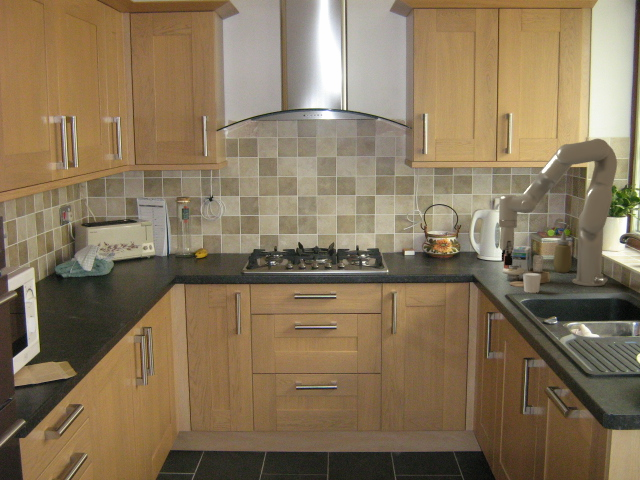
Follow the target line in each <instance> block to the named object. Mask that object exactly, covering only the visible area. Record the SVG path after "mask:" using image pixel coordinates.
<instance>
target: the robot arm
mask: <svg viewBox="0 0 640 480" xmlns="http://www.w3.org/2000/svg"><path fill="white" fill-rule="evenodd" d="M591 162H594V163H593V164H594V168H593V171H592V175H591V179H590V183H589V186H588V189H587V190H586V198H585V203H584V205H583V209H582V211H581V213H580V214H579V217H578V239H577V240H578V244H577V261H576V263H577V265H576V278H573V279H572V283H573V284H575V285H578V286H584V287H585V286H586V287H600V286H604V285H605V284H606V283H607V282H608V280H609V279H608V277H604V273H602V261H603V248H604V247H603V244H604V228H605V225H606V223H607V218H608V216H609V211H610V208H611V205H612V201H613V192H612V189H613V185H614V182H615V178H616V173H617V167H618V161H617V156H616V153H615V151H614V150H613V148H612V147H611V146H610V145H609V144H608V142H607V141H606V140H604V139H601V138H593V139H590V140H585V141H580V142H574V143H566V144H562V145H561V146H559V147H558V149H557V150H556V152H554V153H553V155H552V156H551V157H550V158H549V160H548V161H547V162H546V164H544V166H543V167H542V168H541V170H540V171H539V172H538V174H537V176H536V177H535V179H534V180H533V181H532V183H531V184H530V185H529V187H527V189H526V190H525V191H524V192H523V194H522V195H521V196H520V195H518V196H517V195H514V194H502V195H500V197H499V205H498V207H499V208H498V228H500V237H499V249H500V250H501V251H502V252H501V262H504V254H505V265H509V266H513V249H514V248H515V229H517V228H518V213H522V214H530V213H532V212H534V210H535V209H536V207H537V206H538V204H539V203H540V202H541V200H543V198H544V197H545V196H546V194H548V192H549V191H550V190H551V189H553V188H554V187H555V186H557V184H558V183H559V182H560V180H562V178H564V176H565V174H566V173H567V172H568V171H569V170H570V168H572V166H574V165H578V164H579V165H580V164H586V163H591Z"/></svg>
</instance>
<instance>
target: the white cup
mask: <svg viewBox="0 0 640 480" xmlns="http://www.w3.org/2000/svg"><path fill="white" fill-rule="evenodd" d="M522 277H523V278H522V279H523V282H524V287H523V290H524V293H525V292H526V293H528V292H529V293H530V294H536V292H537V293H539V292H540V285H541V283H540V279H541V274H538V273H524V274H522Z"/></svg>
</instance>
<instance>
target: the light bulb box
mask: <svg viewBox="0 0 640 480" xmlns="http://www.w3.org/2000/svg"><path fill="white" fill-rule="evenodd" d="M512 256H513V259H512V266H517V267H518V268H523V269H525V273H526V272H527V271H531V266H532V246H527V245H526V246H525V245H516V246H514V249H513V251H512Z"/></svg>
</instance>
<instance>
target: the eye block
mask: <svg viewBox="0 0 640 480" xmlns="http://www.w3.org/2000/svg"><path fill="white" fill-rule="evenodd" d="M526 273H533V270H529V271H527V272H526ZM538 274H541V279H540V284H545V283H550V282H551V281H550V278H551V277H550V276H551V273H550V272H548V271H543V270H542V273H538Z"/></svg>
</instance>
